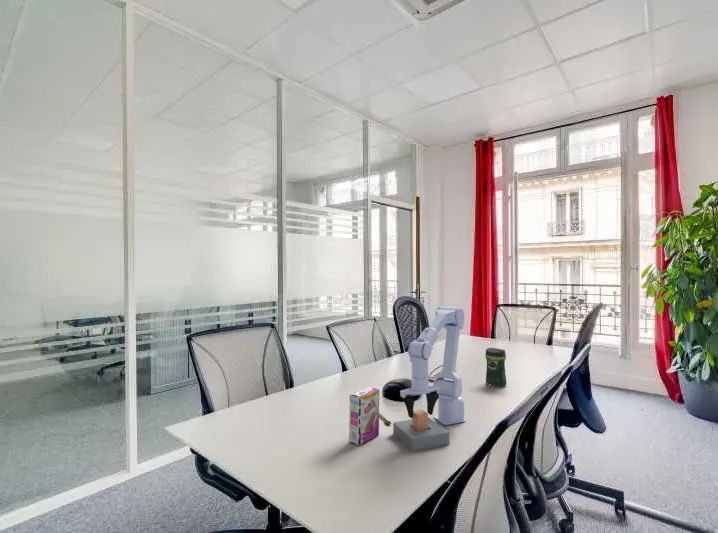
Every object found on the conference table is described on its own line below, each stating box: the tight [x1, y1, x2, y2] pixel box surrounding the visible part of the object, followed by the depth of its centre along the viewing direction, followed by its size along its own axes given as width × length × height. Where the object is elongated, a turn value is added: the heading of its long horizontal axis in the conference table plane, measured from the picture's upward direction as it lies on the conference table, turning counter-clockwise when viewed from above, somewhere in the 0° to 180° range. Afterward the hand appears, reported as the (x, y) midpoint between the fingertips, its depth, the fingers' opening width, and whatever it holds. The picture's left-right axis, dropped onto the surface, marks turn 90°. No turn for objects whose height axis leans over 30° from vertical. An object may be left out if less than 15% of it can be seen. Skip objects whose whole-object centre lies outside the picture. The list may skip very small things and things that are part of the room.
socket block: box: [392, 417, 450, 452], centre depth 126 cm, size 14×14×4 cm
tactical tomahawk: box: [379, 412, 392, 425], centre depth 146 cm, size 21×7×1 cm, turn 17°
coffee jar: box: [484, 347, 507, 388], centre depth 186 cm, size 10×8×19 cm
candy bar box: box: [348, 386, 380, 447], centre depth 126 cm, size 11×5×16 cm, turn 141°
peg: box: [411, 409, 429, 432], centre depth 126 cm, size 4×4×9 cm
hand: (420, 415), depth 126 cm, fingers open, 7 cm apart
